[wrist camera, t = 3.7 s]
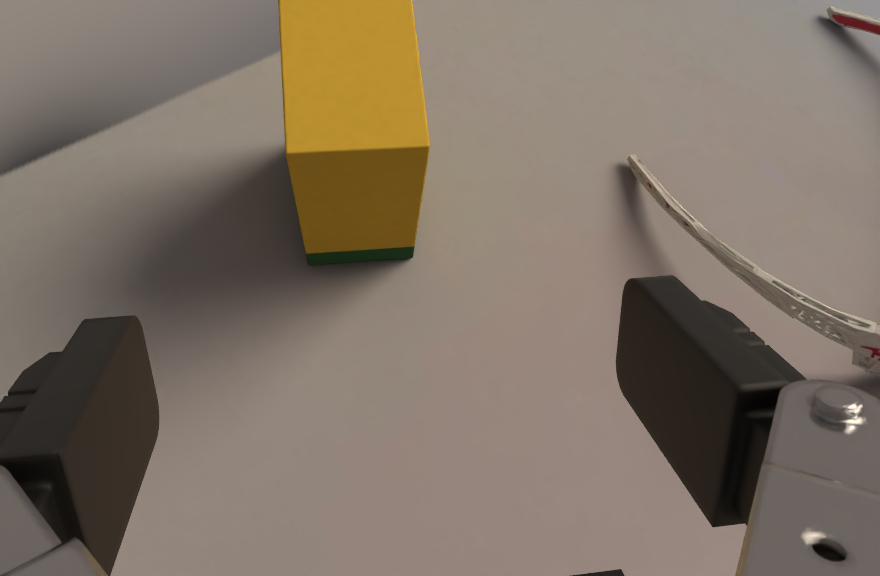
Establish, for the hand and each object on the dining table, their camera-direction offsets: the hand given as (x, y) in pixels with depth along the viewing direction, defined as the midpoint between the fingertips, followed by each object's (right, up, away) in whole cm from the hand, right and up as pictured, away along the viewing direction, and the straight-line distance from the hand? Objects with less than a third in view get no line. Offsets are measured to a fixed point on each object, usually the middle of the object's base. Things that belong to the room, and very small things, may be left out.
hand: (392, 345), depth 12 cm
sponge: (-3, +5, +19) cm, 20 cm away
